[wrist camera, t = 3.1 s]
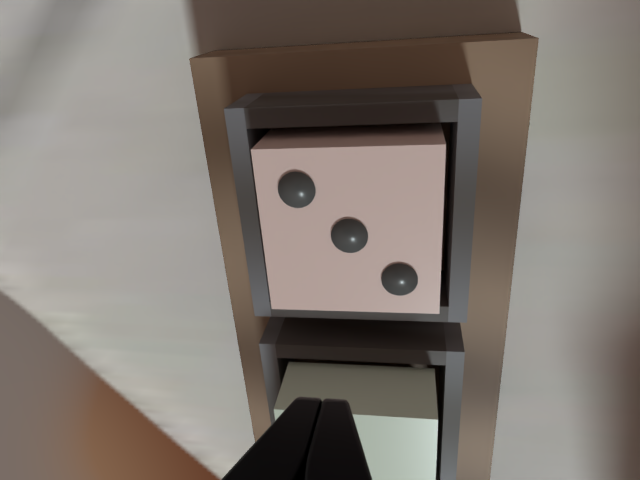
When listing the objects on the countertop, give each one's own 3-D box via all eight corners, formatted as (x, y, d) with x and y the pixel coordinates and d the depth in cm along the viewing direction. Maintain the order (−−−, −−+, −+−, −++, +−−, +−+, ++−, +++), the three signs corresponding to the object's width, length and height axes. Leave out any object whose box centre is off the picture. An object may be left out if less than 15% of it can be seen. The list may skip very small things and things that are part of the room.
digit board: (472, 539, 24) (484, 637, 20) (284, 520, 25) (264, 608, 22) (521, 31, 14) (561, 46, 10) (214, 50, 16) (157, 68, 12)
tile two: (430, 472, 17) (433, 531, 15) (300, 462, 18) (288, 517, 16) (434, 368, 15) (438, 421, 13) (288, 361, 16) (273, 410, 14)
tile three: (435, 274, 15) (439, 314, 13) (287, 272, 15) (271, 310, 14) (440, 122, 13) (446, 145, 11) (271, 128, 13) (250, 149, 12)
